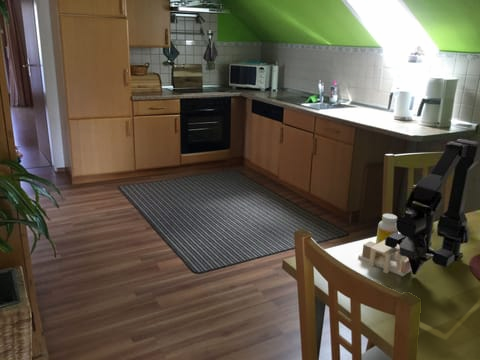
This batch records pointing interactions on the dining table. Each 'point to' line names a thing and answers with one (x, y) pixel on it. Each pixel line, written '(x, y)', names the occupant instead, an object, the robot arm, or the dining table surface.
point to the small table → (384, 254)
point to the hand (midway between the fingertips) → (414, 274)
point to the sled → (379, 260)
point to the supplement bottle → (386, 227)
